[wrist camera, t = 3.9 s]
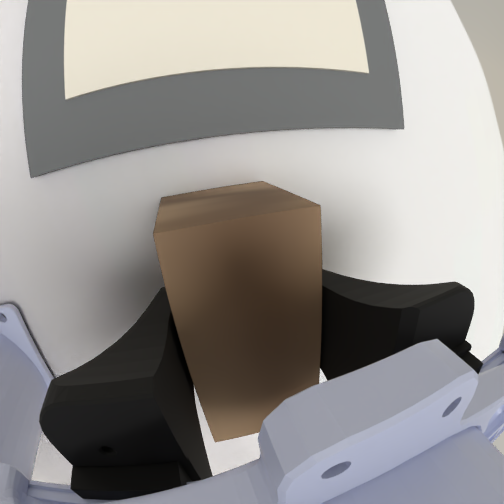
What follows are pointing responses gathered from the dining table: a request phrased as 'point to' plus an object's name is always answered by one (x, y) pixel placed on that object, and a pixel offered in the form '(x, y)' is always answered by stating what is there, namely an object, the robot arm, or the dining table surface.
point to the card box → (243, 297)
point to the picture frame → (199, 72)
